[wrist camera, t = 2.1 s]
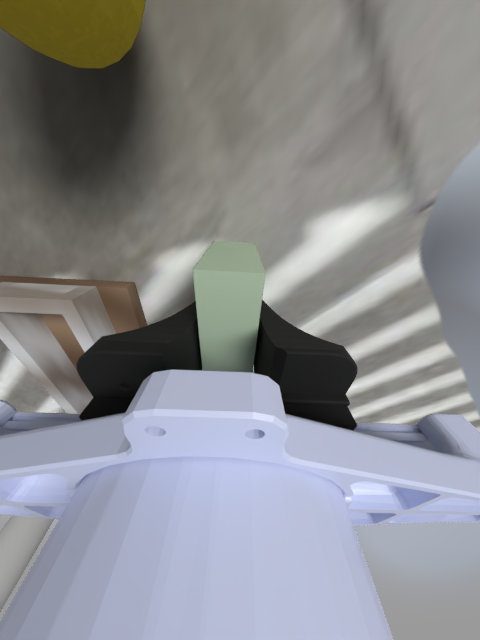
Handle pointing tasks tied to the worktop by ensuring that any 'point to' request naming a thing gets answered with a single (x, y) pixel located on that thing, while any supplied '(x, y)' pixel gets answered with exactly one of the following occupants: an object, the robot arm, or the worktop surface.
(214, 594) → the robot arm
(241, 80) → the worktop surface
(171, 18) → the worktop surface
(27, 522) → the bottle
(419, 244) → the worktop surface
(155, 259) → the worktop surface
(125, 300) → the track base
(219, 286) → the pale green rectangular block
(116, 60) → the lemon
